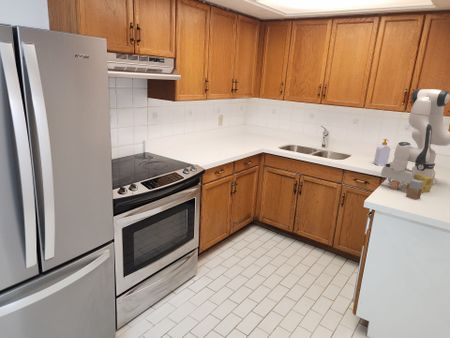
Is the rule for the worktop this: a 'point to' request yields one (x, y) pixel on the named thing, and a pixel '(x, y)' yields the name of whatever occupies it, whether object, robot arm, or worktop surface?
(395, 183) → the peach brown rounded dome
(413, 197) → the walnut block
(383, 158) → the soap bottle
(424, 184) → the cheese
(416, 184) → the grey block
